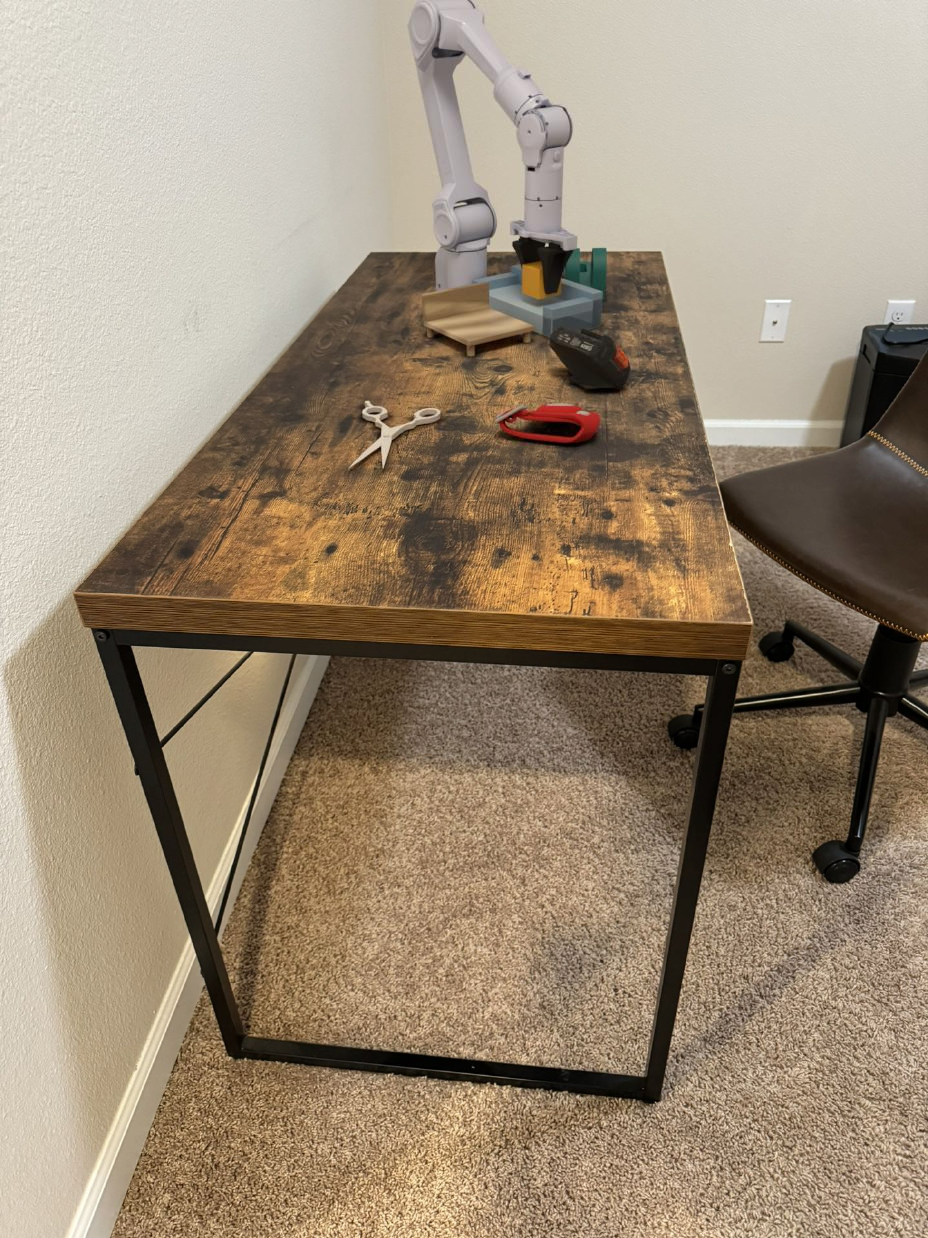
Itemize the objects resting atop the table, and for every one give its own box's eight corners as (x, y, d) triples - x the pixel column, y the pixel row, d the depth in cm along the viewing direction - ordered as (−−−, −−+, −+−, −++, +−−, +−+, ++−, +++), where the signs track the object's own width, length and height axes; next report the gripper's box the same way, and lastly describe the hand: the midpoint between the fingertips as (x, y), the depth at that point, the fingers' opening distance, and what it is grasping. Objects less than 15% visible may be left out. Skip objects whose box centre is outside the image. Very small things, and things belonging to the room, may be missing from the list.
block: (521, 293, 147) (522, 264, 145) (544, 288, 149) (544, 259, 147) (538, 299, 144) (539, 269, 142) (561, 294, 146) (562, 265, 144)
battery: (611, 409, 122) (644, 369, 122) (580, 367, 117) (615, 326, 117) (559, 391, 131) (590, 354, 131) (529, 351, 126) (561, 313, 126)
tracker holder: (559, 401, 117) (617, 404, 110) (558, 436, 119) (615, 441, 111) (486, 403, 110) (542, 406, 103) (486, 440, 111) (541, 446, 104)
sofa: (472, 306, 157) (471, 273, 154) (519, 296, 162) (519, 264, 158) (551, 338, 142) (552, 302, 139) (600, 326, 146) (602, 291, 143)
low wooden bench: (423, 336, 145) (421, 293, 141) (486, 321, 150) (485, 280, 146) (469, 357, 136) (468, 313, 132) (534, 341, 141) (534, 298, 137)
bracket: (604, 300, 158) (607, 252, 154) (565, 300, 158) (567, 253, 154) (598, 273, 173) (600, 229, 168) (562, 273, 173) (564, 229, 169)
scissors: (444, 403, 119) (410, 469, 103) (444, 409, 119) (411, 475, 103) (365, 400, 120) (320, 464, 104) (366, 406, 121) (320, 470, 105)
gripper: (494, 193, 142) (494, 284, 150) (551, 208, 132) (549, 303, 139) (530, 188, 145) (529, 276, 153) (589, 201, 135) (585, 295, 143)
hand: (541, 289), depth 146 cm, fingers closed on block, 4 cm apart
